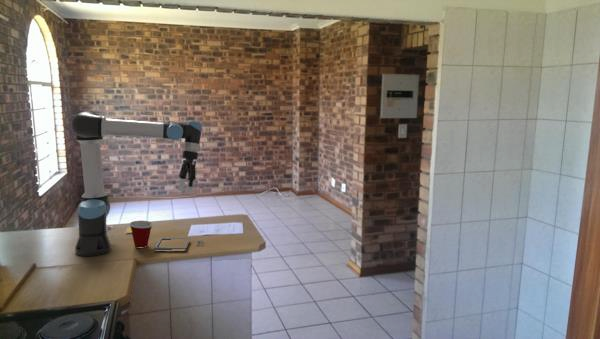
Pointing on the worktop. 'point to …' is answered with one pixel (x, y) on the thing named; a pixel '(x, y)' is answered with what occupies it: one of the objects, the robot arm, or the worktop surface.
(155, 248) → the tray
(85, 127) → the robot arm
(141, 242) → the plastic cup
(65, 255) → the worktop surface
